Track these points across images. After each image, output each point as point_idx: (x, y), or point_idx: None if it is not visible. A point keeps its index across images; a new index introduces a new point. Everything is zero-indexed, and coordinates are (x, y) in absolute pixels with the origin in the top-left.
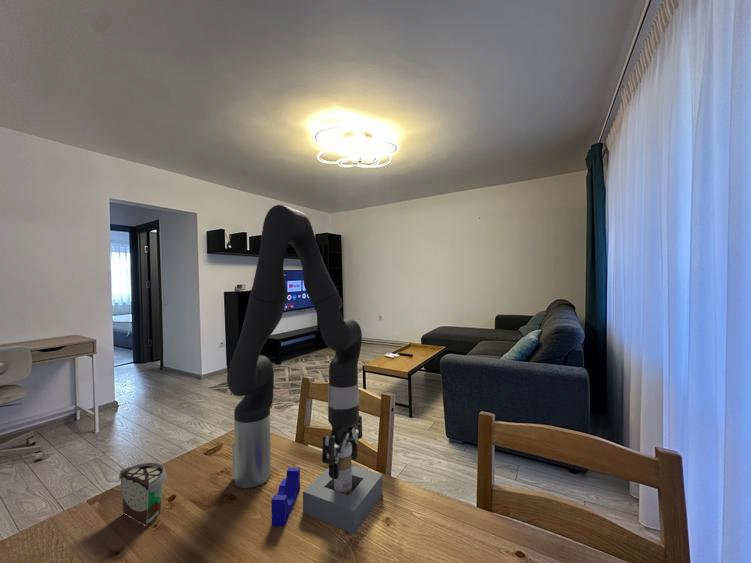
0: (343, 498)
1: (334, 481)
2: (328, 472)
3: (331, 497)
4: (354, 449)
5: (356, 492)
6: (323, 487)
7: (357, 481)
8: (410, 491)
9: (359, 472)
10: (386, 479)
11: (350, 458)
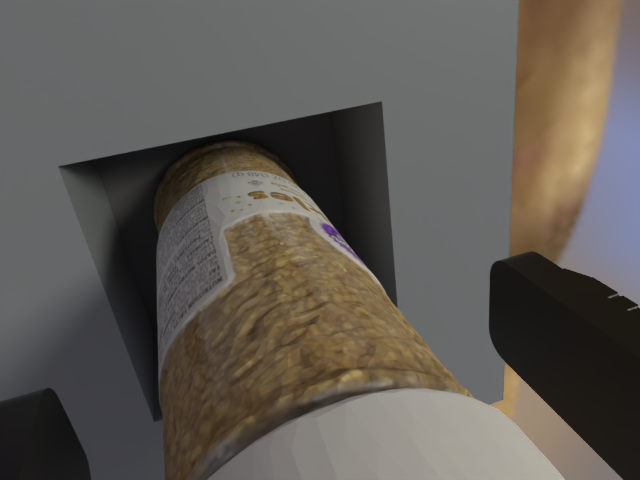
0: (96, 419)
1: (164, 254)
2: (284, 2)
3: (12, 349)
4: (588, 421)
5: None
6: (46, 170)
7: (378, 271)
8: (511, 395)
9: (449, 266)
10: (551, 250)
11: None
